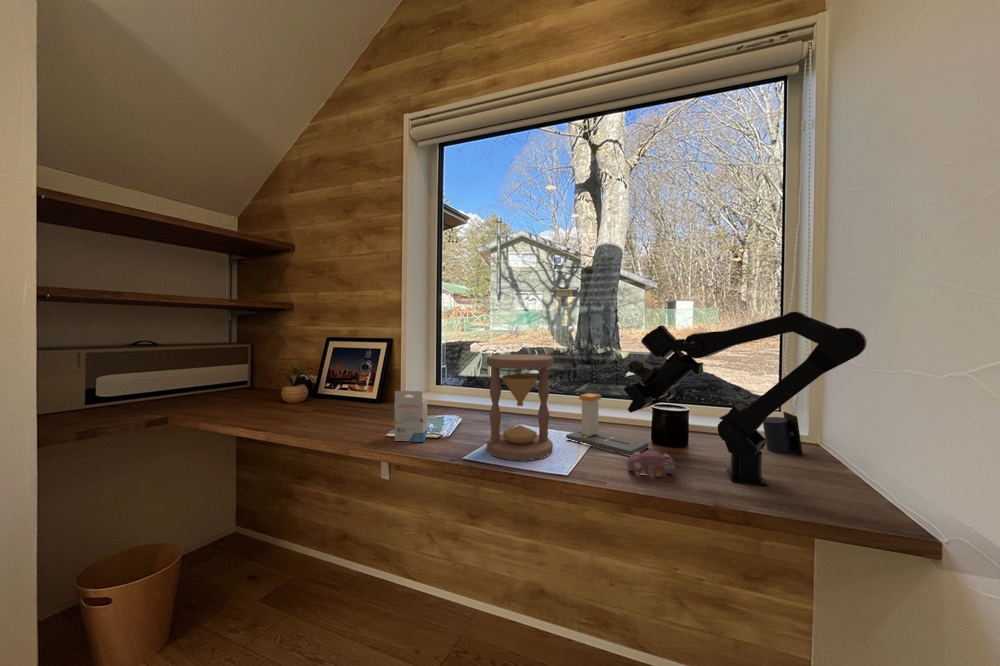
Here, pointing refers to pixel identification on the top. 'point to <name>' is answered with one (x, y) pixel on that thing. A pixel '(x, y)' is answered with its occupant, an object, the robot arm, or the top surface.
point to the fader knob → (590, 413)
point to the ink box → (410, 416)
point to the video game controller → (651, 463)
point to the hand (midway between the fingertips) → (629, 410)
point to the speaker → (783, 434)
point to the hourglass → (519, 439)
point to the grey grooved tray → (610, 442)
